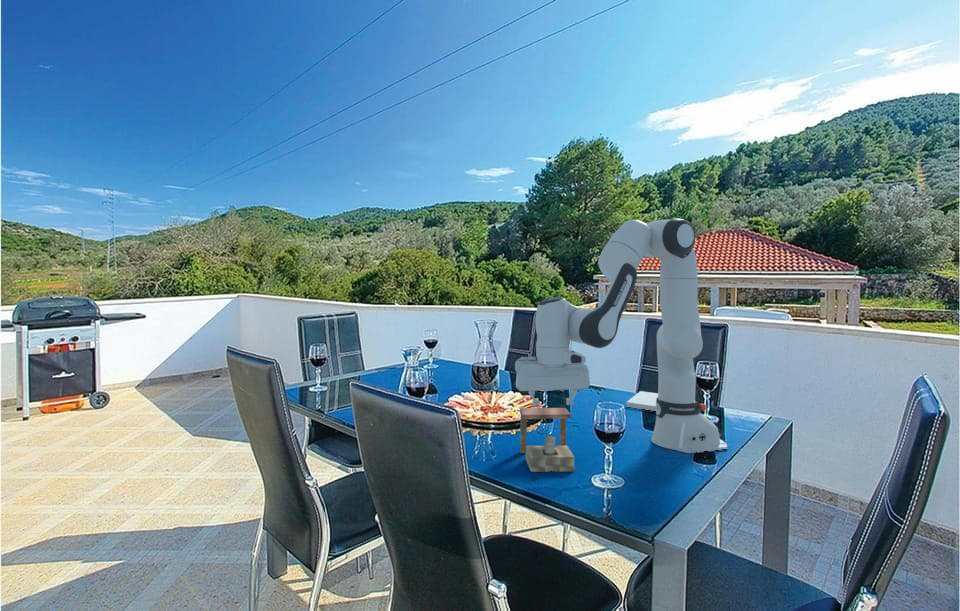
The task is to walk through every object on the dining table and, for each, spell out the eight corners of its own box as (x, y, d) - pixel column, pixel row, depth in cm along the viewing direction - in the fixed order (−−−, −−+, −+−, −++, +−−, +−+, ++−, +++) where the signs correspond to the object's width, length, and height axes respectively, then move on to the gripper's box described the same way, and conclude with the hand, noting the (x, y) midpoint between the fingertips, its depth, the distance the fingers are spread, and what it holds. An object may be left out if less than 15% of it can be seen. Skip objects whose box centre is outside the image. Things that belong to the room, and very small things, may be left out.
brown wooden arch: (564, 450, 149) (565, 407, 149) (569, 458, 142) (570, 414, 142) (519, 450, 149) (519, 408, 148) (522, 459, 142) (523, 414, 141)
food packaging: (664, 415, 191) (675, 403, 208) (664, 407, 191) (676, 395, 207) (626, 410, 199) (640, 398, 216) (626, 402, 199) (640, 391, 216)
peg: (555, 467, 135) (556, 439, 135) (545, 467, 135) (546, 439, 135) (553, 463, 138) (554, 435, 138) (543, 463, 138) (544, 435, 137)
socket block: (566, 458, 142) (566, 445, 142) (574, 471, 133) (574, 456, 133) (525, 459, 142) (526, 445, 142) (530, 471, 133) (530, 457, 133)
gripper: (516, 359, 131) (517, 409, 132) (591, 357, 132) (591, 407, 133) (513, 355, 137) (514, 403, 138) (585, 353, 138) (585, 401, 139)
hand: (552, 405), depth 135 cm, fingers open, 8 cm apart
